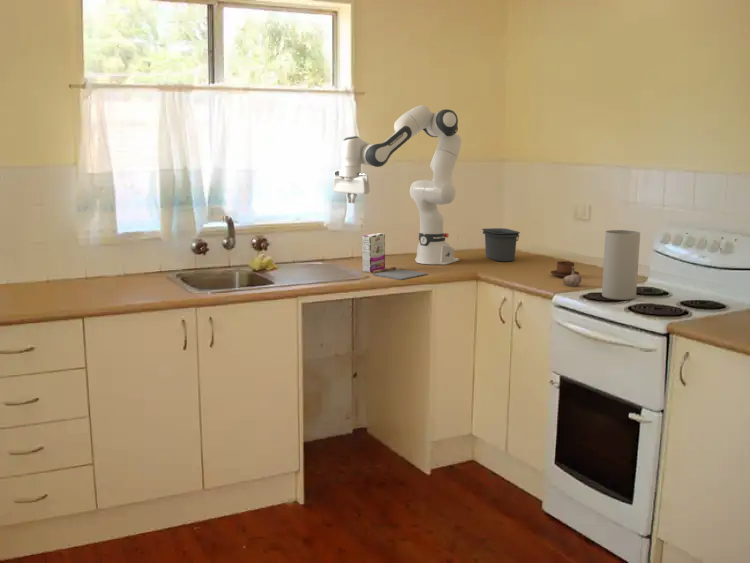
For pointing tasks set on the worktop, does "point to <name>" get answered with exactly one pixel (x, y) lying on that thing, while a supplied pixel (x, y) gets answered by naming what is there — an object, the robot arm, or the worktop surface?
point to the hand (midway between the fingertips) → (351, 203)
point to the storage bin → (500, 243)
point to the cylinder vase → (620, 264)
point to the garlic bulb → (572, 279)
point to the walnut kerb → (384, 270)
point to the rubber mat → (400, 274)
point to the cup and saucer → (564, 269)
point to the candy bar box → (373, 252)
